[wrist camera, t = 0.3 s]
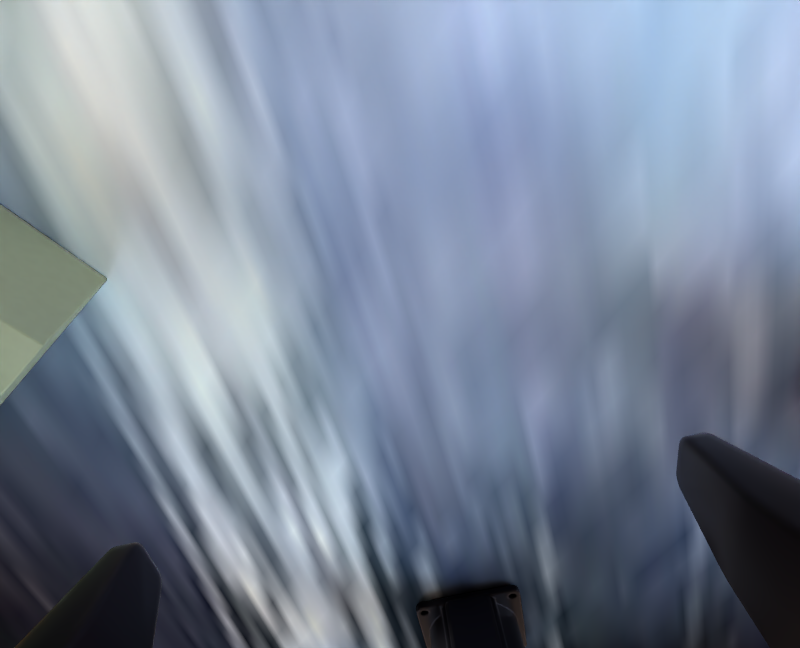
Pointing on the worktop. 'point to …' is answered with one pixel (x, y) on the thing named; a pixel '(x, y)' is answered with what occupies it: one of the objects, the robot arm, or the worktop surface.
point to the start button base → (35, 296)
